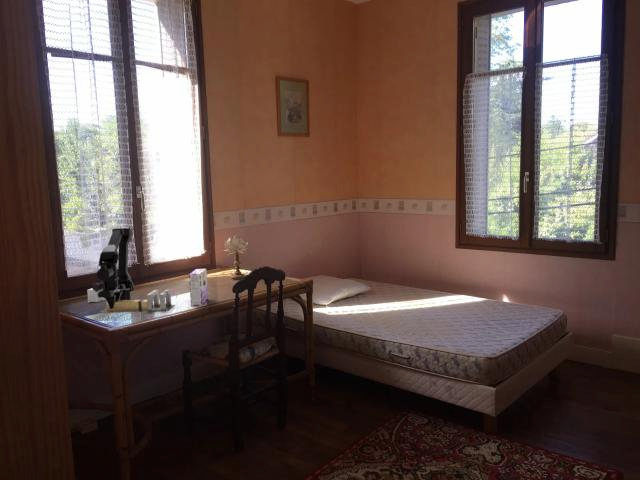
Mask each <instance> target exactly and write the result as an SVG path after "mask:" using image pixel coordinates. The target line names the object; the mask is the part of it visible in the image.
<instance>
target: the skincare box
mask: <svg viewBox="0 0 640 480" xmlns="http://www.w3.org/2000/svg"><path fill="white" fill-rule="evenodd" d="M102 290H103V289H101V290H99V291H97V292H95V290H93V289H92V288H89V289H87V290H86V291H87V292H86V293H87V303H88V304H89V303H98V302H101V301H106V299H105V298H104V297H100V298H99V297H98V293H99V292H100V291H102Z"/></svg>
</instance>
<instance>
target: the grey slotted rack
mask: <svg viewBox="0 0 640 480" xmlns="http://www.w3.org/2000/svg"><path fill="white" fill-rule="evenodd" d="M159 292H160V291H159V289H153V290H152V291H151V292H149V293H148V294H146V300H147V305H148V310H107V308H106V307H105V308H104V309H103V308H102V309H101V310H99V311H98V312H97V313H102V314H103V313H106V314H107V313H142V312H143V313H147V312H149V313H150V312H151V313H152V312H169V311H171V310H172V309H173V308H174V307H175V306H176V304H172V293H171V289H170V288H169V289H165V290H164V291H163V292H161V293H160V294H159Z"/></svg>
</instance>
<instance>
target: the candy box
mask: <svg viewBox="0 0 640 480" xmlns="http://www.w3.org/2000/svg"><path fill="white" fill-rule="evenodd" d="M207 273H208V271H207V268H195V269H194V270H193V271H192V272H190V273H189V275H188V277H189V294H190V296H189V298H190V306H191V307H193V306H194V307H200V306H199V305H202V306H203V305H204V304H205V303H206V302H207V301H208V300H209V289H208V288H209V287H208V274H207Z"/></svg>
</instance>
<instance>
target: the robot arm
mask: <svg viewBox="0 0 640 480" xmlns="http://www.w3.org/2000/svg"><path fill="white" fill-rule="evenodd" d="M111 229H112V230H111V231H112V233H111V236H110V238H109V241H108V244H107V246H106V247H104V248H103V249H102V251H101V252H100V255H99V261H98V267H100V268H99V269H98V270H97V272H96V276H97V278H98V280H101V281H102V282H99V283H98V282H94V283H93V284H92V288H91V289H93V290H95V292H97V291H99V290H101V289H103V290H102V291H100V292H99V293H98V297H99V298H100V297H104V298H105V301H106V302H108V304H109V307H110V309H113V306H114V302H115V300H132V294H131V292H133V291H135V284H134V283H133V280H132V276H131V275H130V274H129V270H128V269H129V268H128V267H129V244H130V243H131V241H132V239H133V237H132V236H133V235H134V231H133V229H131V228H130V227H129V226H127V227H113V228H111ZM117 267H118V268H117Z"/></svg>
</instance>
